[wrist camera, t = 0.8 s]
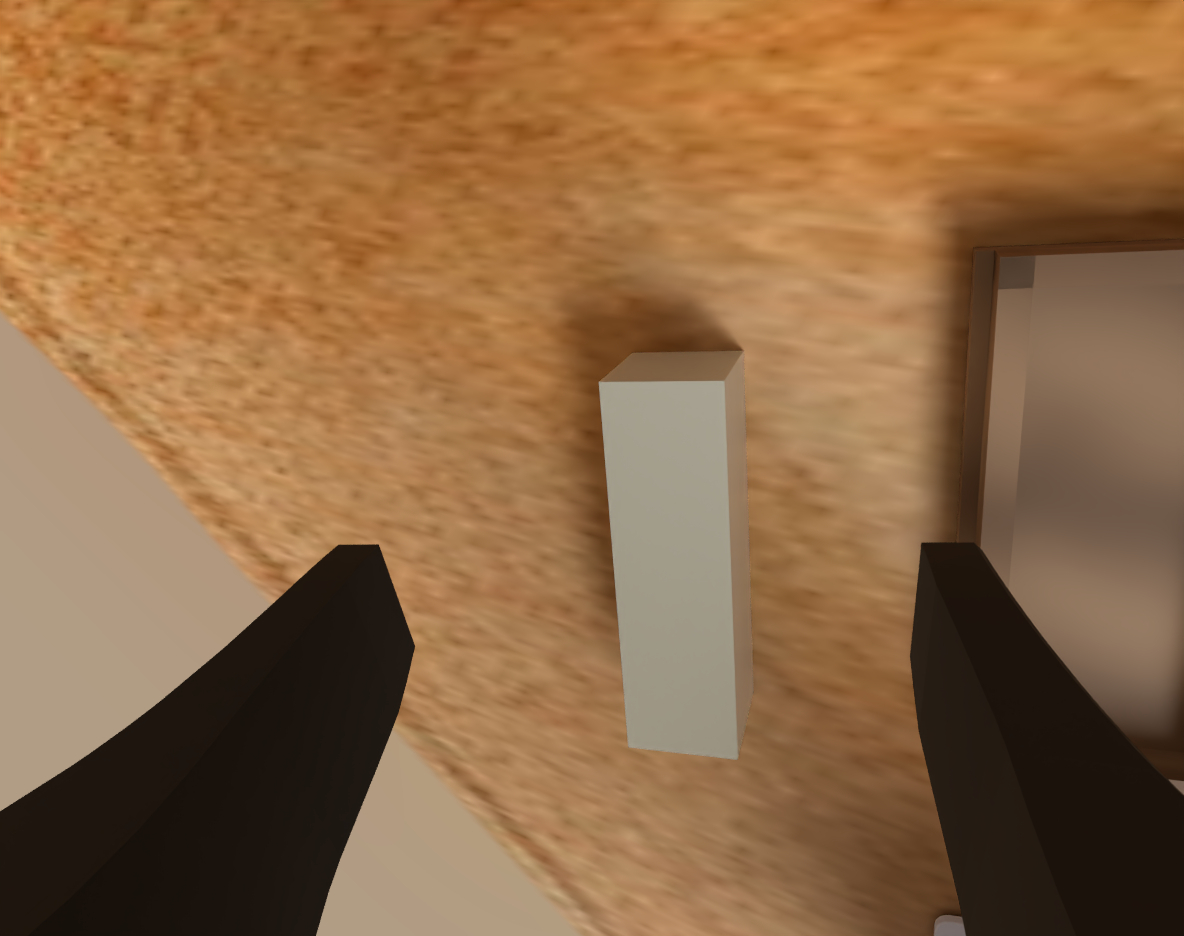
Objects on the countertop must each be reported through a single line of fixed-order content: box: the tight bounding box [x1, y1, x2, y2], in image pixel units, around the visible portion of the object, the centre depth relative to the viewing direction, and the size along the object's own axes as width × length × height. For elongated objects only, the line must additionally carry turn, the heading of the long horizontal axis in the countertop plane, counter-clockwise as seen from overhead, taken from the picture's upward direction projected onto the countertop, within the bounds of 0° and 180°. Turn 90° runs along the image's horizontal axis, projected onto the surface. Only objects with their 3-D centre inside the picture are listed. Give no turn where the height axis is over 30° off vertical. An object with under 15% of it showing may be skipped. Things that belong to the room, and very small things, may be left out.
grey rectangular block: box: [599, 351, 754, 760], centre depth 28 cm, size 12×4×4 cm, turn 5°
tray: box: [956, 239, 1184, 795], centre depth 25 cm, size 16×8×2 cm, turn 5°
